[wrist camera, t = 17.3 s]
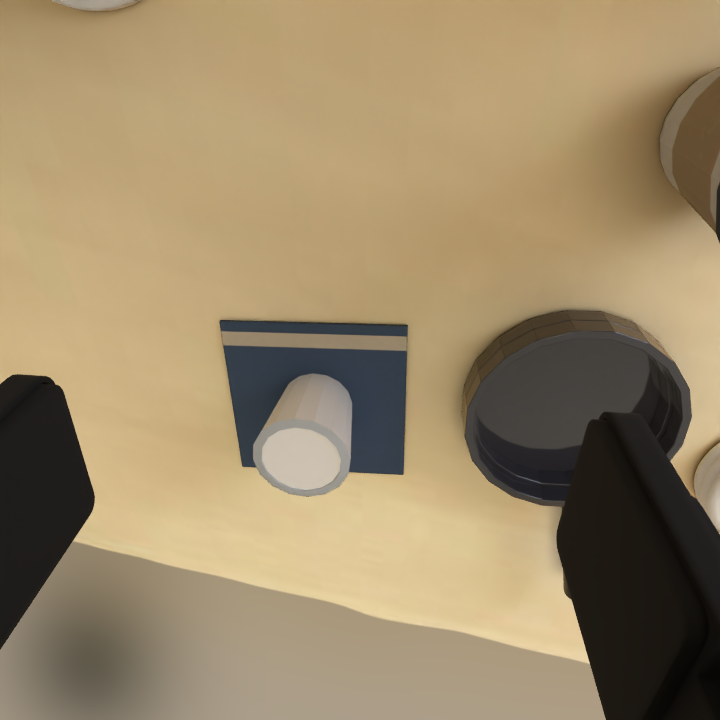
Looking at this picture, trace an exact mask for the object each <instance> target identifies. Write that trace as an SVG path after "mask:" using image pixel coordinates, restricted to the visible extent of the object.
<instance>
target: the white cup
mask: <svg viewBox="0 0 720 720" xmlns="http://www.w3.org/2000/svg"><path fill="white" fill-rule="evenodd" d="M351 427H352V401H351V398H350V395H349V392H348V391H347V390H346V389H345V387H344V386H343V385H342V384H341V383H340V382H339V381H337V380H335V379H333V378H331V377H329V376H327V375H321V374H314V373H312V374H307V375H302V376H299V377H297V378H296V379H294V380H293V381H291V382H290V383H289V384H288V386H287V388H286V389H285V391H284V393H283V395H282V396H281V398H280V400H279V401H278V403H277V405H276V407H275V408H274V410H273V412H272V413H271V415H270V417H269V419H268V420H267V422H266V424H265V426H264V427H263V429H262V431H261V432H260V434H259V436H258V438H257V439H256V441H255V443H254V444H253V461H254V463H255V465H256V467H257V469H258V471H259V473H260V475H261V476H262V477H264V478H265V479H266V480H267V481H268V482H269V483H270V484H271V485H272V486H273V487H276V488H278V489H280V490H282V491H284V492H286V493H288V494H293V495H299V496H306V497H309V496H316V495H322V494H326V493H328V492H330V491H332V490H334V489H335V488H337V487H339V486H340V485H341V484H342V482H343V481H344V480H345V478H346V477H347V475H348V474H349V467H350V459H351Z"/></svg>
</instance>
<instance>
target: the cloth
mask: <svg viewBox="0 0 720 720" xmlns="http://www.w3.org/2000/svg"><path fill="white" fill-rule="evenodd" d="M220 328H221V335H222V341H223V347H224V353H225V359H226V366H227V372H228V378H229V385H230V391H231V397H232V404H233V410H234V416H235V423H236V429H237V435H238V442H239V448H240V455H241V461H242V467H256V465H255V463H254V461H253V444H254V443H255V441H256V439H257V438H258V436H259V434H260V432H261V431H262V429H263V427H264V426H265V424H266V422H267V420H268V419H269V417H270V415H271V413H272V412H273V410H274V408H275V407H276V405H277V403H278V401H279V400H280V398H281V396H282V395H283V393H284V391H285V389H286V388H287V386H288V384H289V383H290V382H291V381H293V380H294V379H296V378H297V377H299V376H302V375H307V374H312V373H314V374H321V375H327V376H329V377H331V378H333V379H335V380H337V381H339V382H340V383H341V384H342V385H343V386H344V387H345V389H346V390H347V391H348V392H349V395H350V398H351V401H352V427H351V459H350V467H349V472H358V473H377V474H397V475H403V470H404V435H405V399H406V364H407V328H408V325H387V324H349V323H310V322H272V321H234V320H220Z"/></svg>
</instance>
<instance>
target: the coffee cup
mask: <svg viewBox="0 0 720 720" xmlns="http://www.w3.org/2000/svg"><path fill="white" fill-rule="evenodd" d="M659 140H660V159H661V164H662V167H663V169H664V172H665V174H666V177H667V179H668V181H669V182H670V183H671V184H672V185H673V186H674V187H675V188H676V189H677V191H678V192H679V193H680V194H681V195H682V196H683V197H684V198H685V199H686V200H687V202H688V203H689V204H690V205H691V206H692V207H693V208H694V209H695V210H696V211H697V213H698V214H699V215H700V216H701V217H702V218H703V219H704V220H705V221H706V222H707V224H708V225H709V226H710V227H711V228H712V229H713V230H714V231H715V232H716V234H717V237H718V240H719V242H720V67H719V68H717V69H715V70H714V71H712V72H710V73H708V74H707V75H705V76H703V77H702V78H700V79H699V80H697V81H696V82H694V83H693V84H692V85H691V86H690V87H689V88H688V89H687V90H686V91H685V92H684V93H683V94H682V95H681V96H680V97H679V98H678V99H677V100H676V102H675V103H674V105H673V107H672V108H671V110H670V112H669V113H668V115H667V117H666V118H665V121H664V125H663V128H662V132H661V135H660V138H659Z"/></svg>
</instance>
